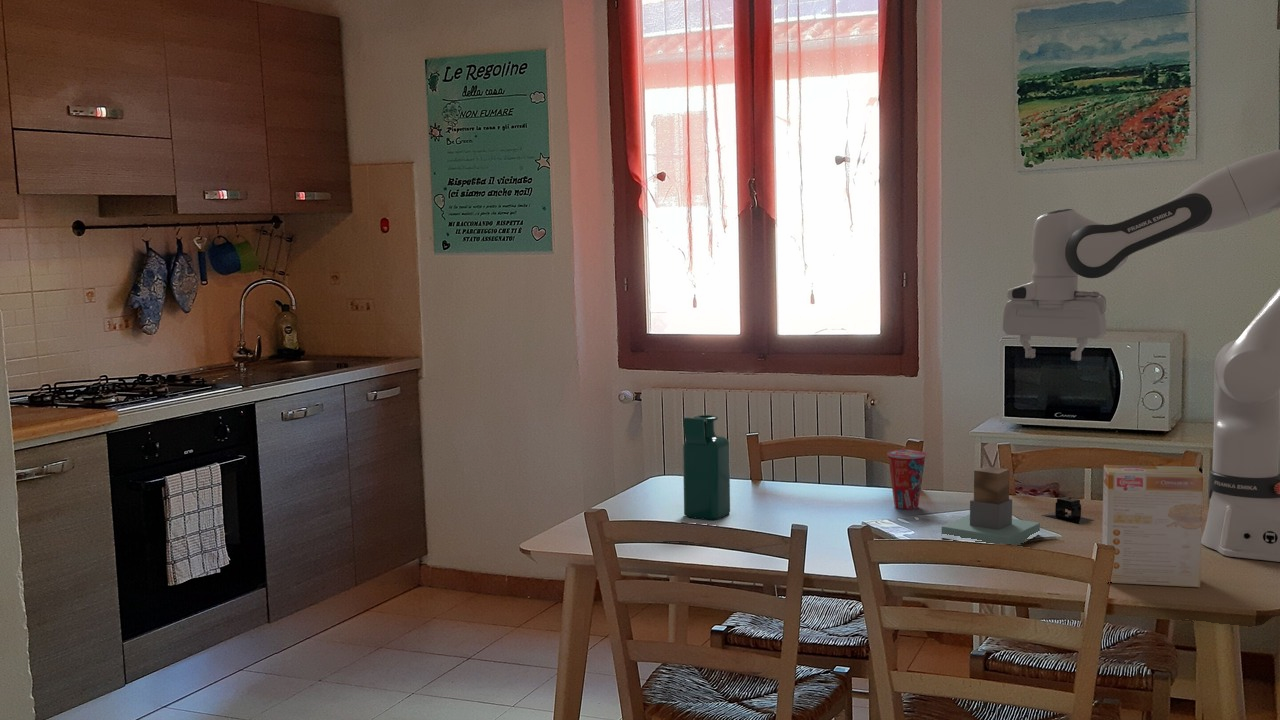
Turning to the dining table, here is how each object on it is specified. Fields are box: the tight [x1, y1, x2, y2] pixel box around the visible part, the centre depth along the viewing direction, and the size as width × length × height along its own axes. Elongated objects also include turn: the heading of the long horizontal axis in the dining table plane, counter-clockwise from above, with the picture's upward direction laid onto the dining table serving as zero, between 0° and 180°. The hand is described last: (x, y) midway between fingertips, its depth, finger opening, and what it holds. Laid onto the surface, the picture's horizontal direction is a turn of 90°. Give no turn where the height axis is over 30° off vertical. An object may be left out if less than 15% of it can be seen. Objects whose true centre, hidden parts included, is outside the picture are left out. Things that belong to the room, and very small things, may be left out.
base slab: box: [941, 514, 1041, 546], centre depth 229 cm, size 14×14×2 cm
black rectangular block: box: [1041, 496, 1095, 525], centre depth 243 cm, size 12×7×5 cm, turn 33°
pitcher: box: [682, 414, 731, 521], centre depth 251 cm, size 10×8×22 cm
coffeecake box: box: [1101, 464, 1204, 588], centre depth 199 cm, size 15×7×20 cm, turn 75°
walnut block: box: [973, 466, 1010, 504], centre depth 228 cm, size 5×5×6 cm
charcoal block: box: [969, 498, 1013, 530], centre depth 229 cm, size 6×6×5 cm
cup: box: [886, 449, 927, 510], centre depth 256 cm, size 9×8×12 cm
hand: (1052, 359), depth 235 cm, fingers open, 8 cm apart
